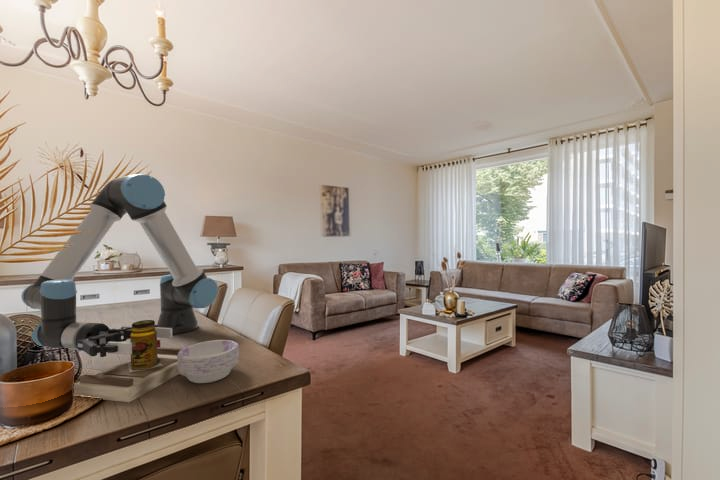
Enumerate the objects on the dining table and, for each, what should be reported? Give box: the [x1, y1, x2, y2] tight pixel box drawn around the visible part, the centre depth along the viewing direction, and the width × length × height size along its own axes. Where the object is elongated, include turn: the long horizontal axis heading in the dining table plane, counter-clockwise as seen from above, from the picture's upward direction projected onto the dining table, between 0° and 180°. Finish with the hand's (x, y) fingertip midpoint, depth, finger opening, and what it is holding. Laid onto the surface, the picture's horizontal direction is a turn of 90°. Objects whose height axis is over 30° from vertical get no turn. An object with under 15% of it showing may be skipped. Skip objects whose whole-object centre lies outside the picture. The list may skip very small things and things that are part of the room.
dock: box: [73, 346, 183, 403], centre depth 91 cm, size 24×16×4 cm, turn 169°
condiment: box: [127, 319, 163, 373], centre depth 91 cm, size 7×8×12 cm
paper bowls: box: [177, 339, 240, 384], centre depth 91 cm, size 15×15×8 cm
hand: (152, 340), depth 90 cm, fingers open, 13 cm apart
